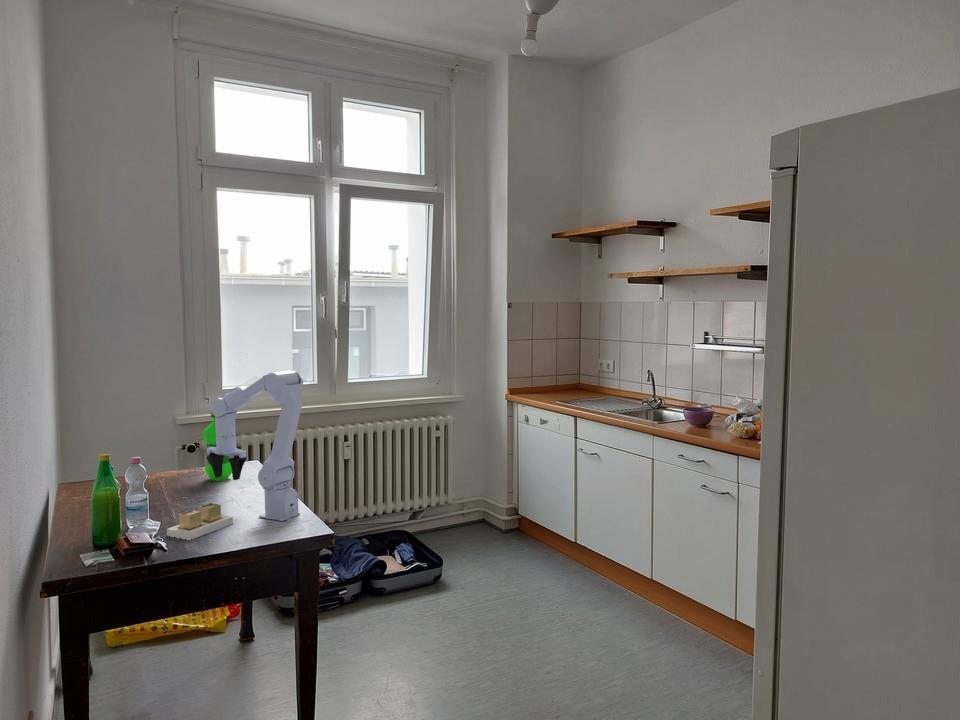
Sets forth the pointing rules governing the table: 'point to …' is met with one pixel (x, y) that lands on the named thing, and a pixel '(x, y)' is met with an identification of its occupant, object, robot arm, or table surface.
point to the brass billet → (210, 512)
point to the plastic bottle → (210, 439)
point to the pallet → (199, 529)
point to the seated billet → (189, 520)
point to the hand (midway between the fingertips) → (227, 478)
